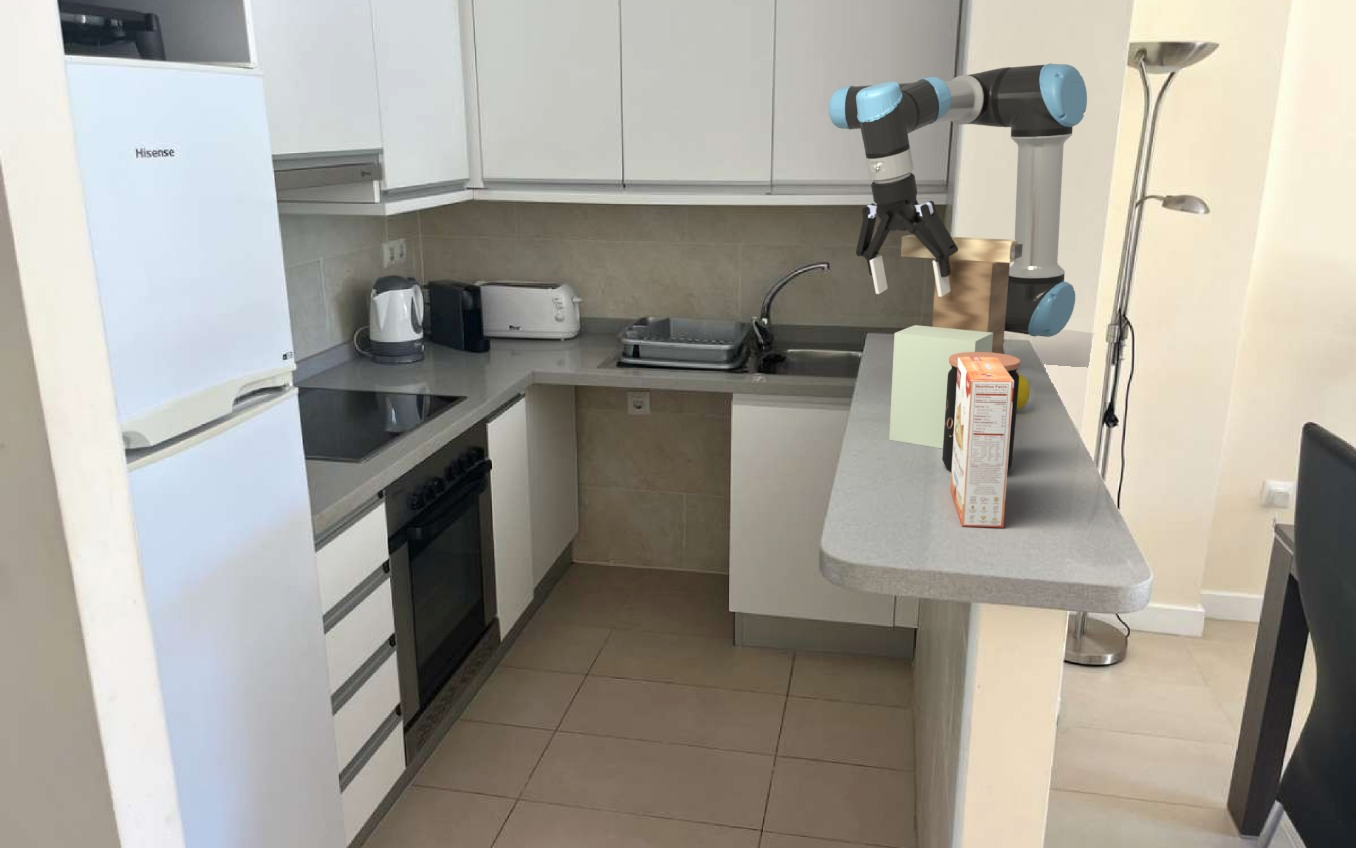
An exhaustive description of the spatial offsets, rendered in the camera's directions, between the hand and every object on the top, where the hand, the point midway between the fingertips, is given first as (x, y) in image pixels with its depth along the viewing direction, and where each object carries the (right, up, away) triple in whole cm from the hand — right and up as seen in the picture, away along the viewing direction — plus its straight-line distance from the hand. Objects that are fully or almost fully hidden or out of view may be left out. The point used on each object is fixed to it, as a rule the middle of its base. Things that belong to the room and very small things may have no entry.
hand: (912, 292), depth 181 cm
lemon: (+22, -22, +12) cm, 33 cm away
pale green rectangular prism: (+3, -27, -6) cm, 27 cm away
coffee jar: (+5, -31, -21) cm, 38 cm away
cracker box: (0, -36, -39) cm, 53 cm away
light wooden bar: (+8, +6, -1) cm, 10 cm away
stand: (+11, -23, +6) cm, 26 cm away
